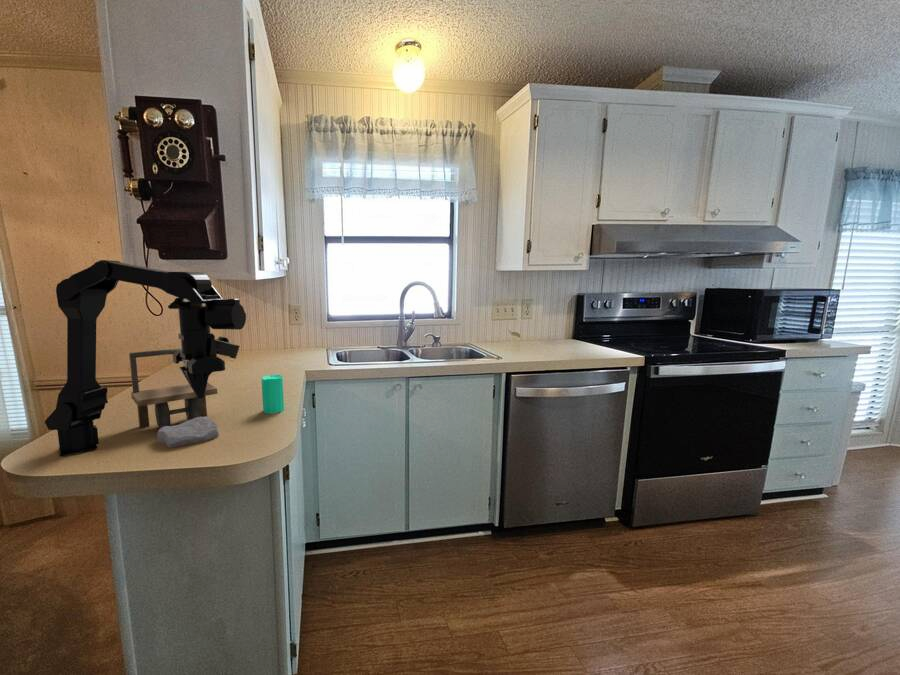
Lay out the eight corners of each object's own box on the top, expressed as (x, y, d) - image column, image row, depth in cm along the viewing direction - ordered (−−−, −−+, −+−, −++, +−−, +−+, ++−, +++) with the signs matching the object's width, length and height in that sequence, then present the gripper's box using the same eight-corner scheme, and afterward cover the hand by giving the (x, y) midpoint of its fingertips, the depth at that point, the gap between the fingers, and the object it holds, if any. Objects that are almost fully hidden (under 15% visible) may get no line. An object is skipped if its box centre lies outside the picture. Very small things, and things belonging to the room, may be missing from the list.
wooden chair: (141, 437, 107) (133, 358, 105) (134, 426, 115) (127, 352, 113) (219, 421, 120) (214, 350, 117) (208, 412, 128) (203, 345, 125)
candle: (274, 406, 134) (272, 369, 133) (288, 409, 132) (286, 371, 130) (258, 411, 129) (256, 372, 127) (272, 414, 126) (270, 374, 125)
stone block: (223, 443, 109) (206, 427, 115) (223, 426, 108) (206, 411, 113) (171, 459, 100) (155, 441, 106) (170, 441, 99) (154, 424, 104)
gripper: (248, 330, 93) (252, 399, 95) (222, 323, 107) (226, 384, 109) (189, 334, 86) (195, 409, 88) (169, 326, 99) (175, 392, 101)
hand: (200, 397), depth 96 cm, fingers closed
